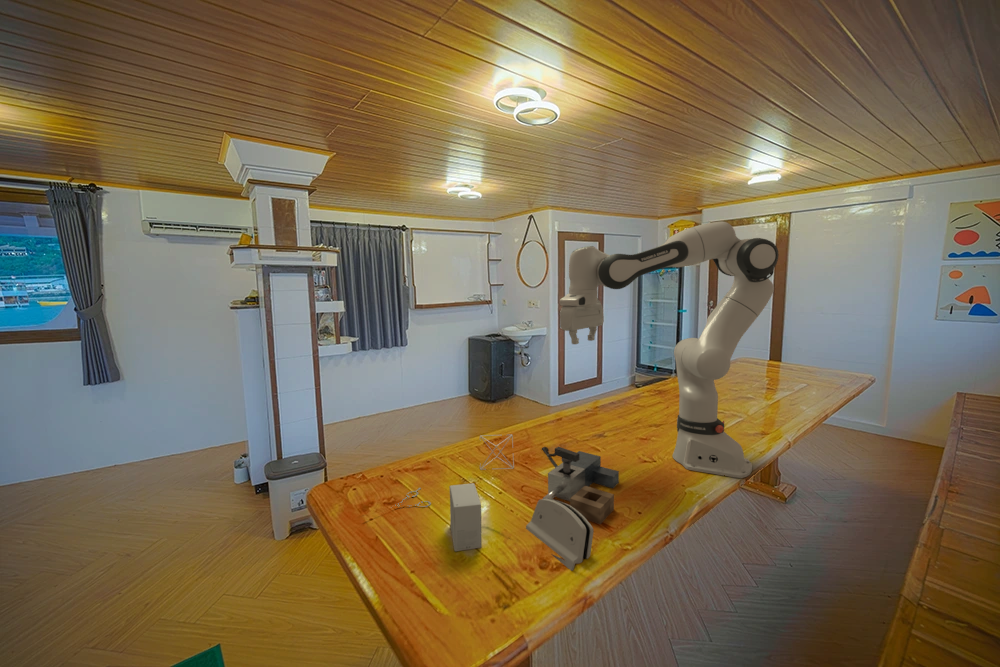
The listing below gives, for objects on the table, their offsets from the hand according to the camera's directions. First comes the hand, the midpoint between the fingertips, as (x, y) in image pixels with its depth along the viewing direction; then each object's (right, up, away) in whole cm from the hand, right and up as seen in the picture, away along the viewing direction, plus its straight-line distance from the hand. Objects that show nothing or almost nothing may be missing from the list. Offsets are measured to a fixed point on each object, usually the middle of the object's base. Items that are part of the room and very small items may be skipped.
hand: (583, 342), depth 132 cm
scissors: (-55, -44, -22) cm, 74 cm away
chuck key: (-8, -40, -19) cm, 45 cm away
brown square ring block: (-4, -43, -28) cm, 51 cm away
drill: (-5, -42, -19) cm, 46 cm away
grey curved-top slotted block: (-13, -45, -39) cm, 61 cm away
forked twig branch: (-5, -40, +3) cm, 40 cm away
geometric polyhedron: (-28, -40, +2) cm, 49 cm away
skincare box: (-35, -45, -35) cm, 67 cm away
